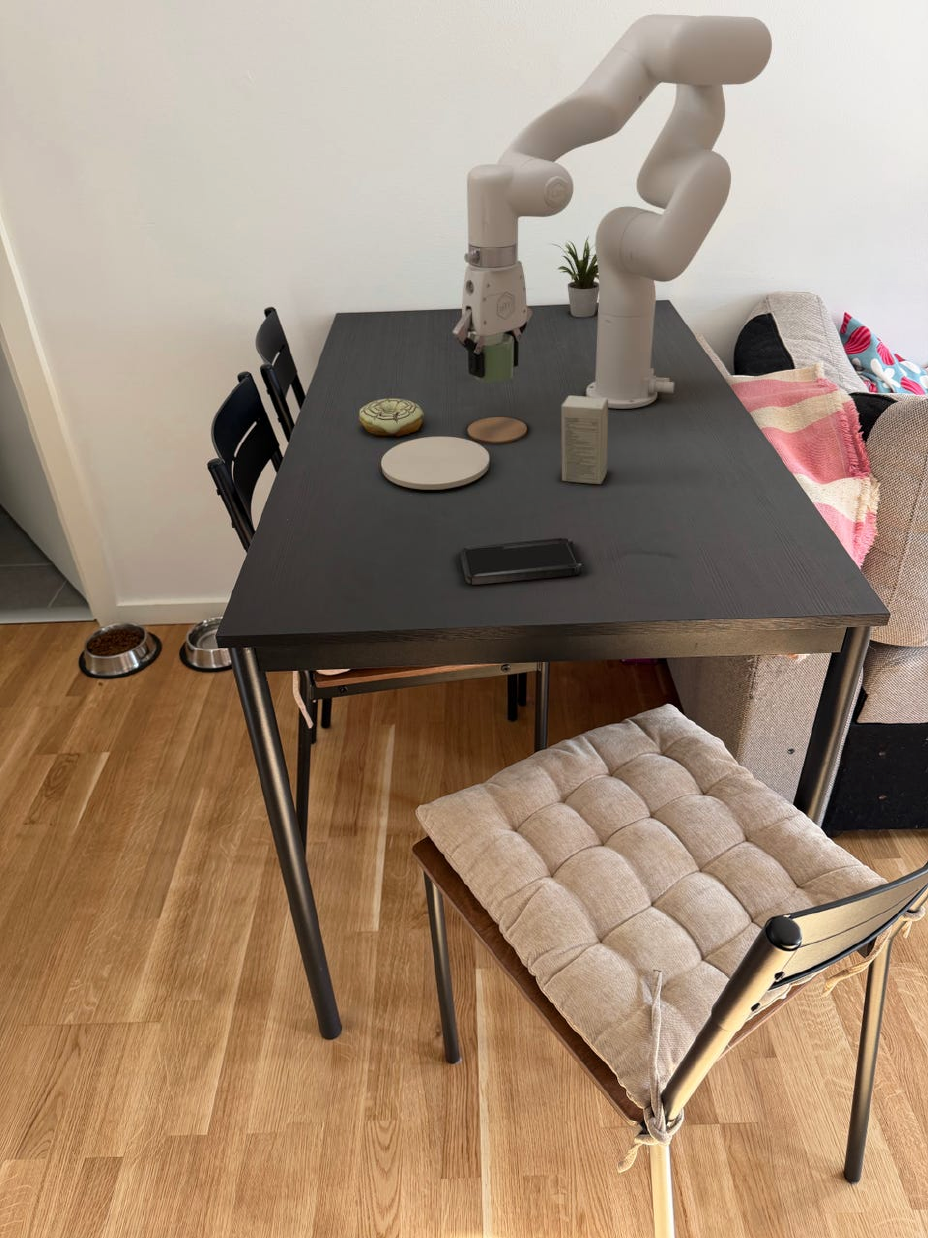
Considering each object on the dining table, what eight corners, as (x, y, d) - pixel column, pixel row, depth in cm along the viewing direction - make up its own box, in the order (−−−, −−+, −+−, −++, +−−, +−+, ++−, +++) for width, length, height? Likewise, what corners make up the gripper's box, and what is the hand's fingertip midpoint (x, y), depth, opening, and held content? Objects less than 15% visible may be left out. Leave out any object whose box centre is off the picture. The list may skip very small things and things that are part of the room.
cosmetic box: (607, 473, 145) (611, 397, 138) (601, 485, 142) (604, 408, 135) (566, 468, 147) (568, 393, 140) (559, 480, 144) (560, 404, 137)
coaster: (533, 422, 162) (533, 420, 162) (516, 446, 155) (517, 444, 154) (478, 416, 165) (478, 414, 165) (459, 439, 158) (459, 437, 157)
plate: (503, 451, 153) (503, 442, 152) (469, 499, 140) (468, 489, 139) (406, 440, 158) (405, 431, 157) (364, 485, 145) (363, 476, 144)
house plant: (541, 323, 205) (542, 244, 196) (547, 304, 216) (548, 228, 207) (608, 324, 203) (612, 245, 193) (610, 304, 214) (614, 228, 205)
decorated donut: (397, 445, 157) (395, 423, 155) (348, 431, 162) (346, 410, 160) (435, 422, 164) (433, 401, 162) (386, 410, 169) (384, 390, 167)
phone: (582, 567, 121) (466, 577, 120) (582, 574, 122) (466, 585, 121) (570, 536, 128) (459, 546, 127) (570, 543, 128) (460, 553, 127)
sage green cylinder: (518, 370, 156) (519, 334, 152) (506, 384, 151) (507, 347, 147) (480, 366, 158) (480, 330, 154) (467, 380, 153) (466, 343, 149)
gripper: (465, 270, 137) (468, 389, 147) (551, 249, 146) (548, 362, 156) (433, 261, 141) (437, 377, 151) (517, 241, 150) (516, 351, 161)
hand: (493, 368), depth 154 cm, fingers closed on sage green cylinder, 6 cm apart
